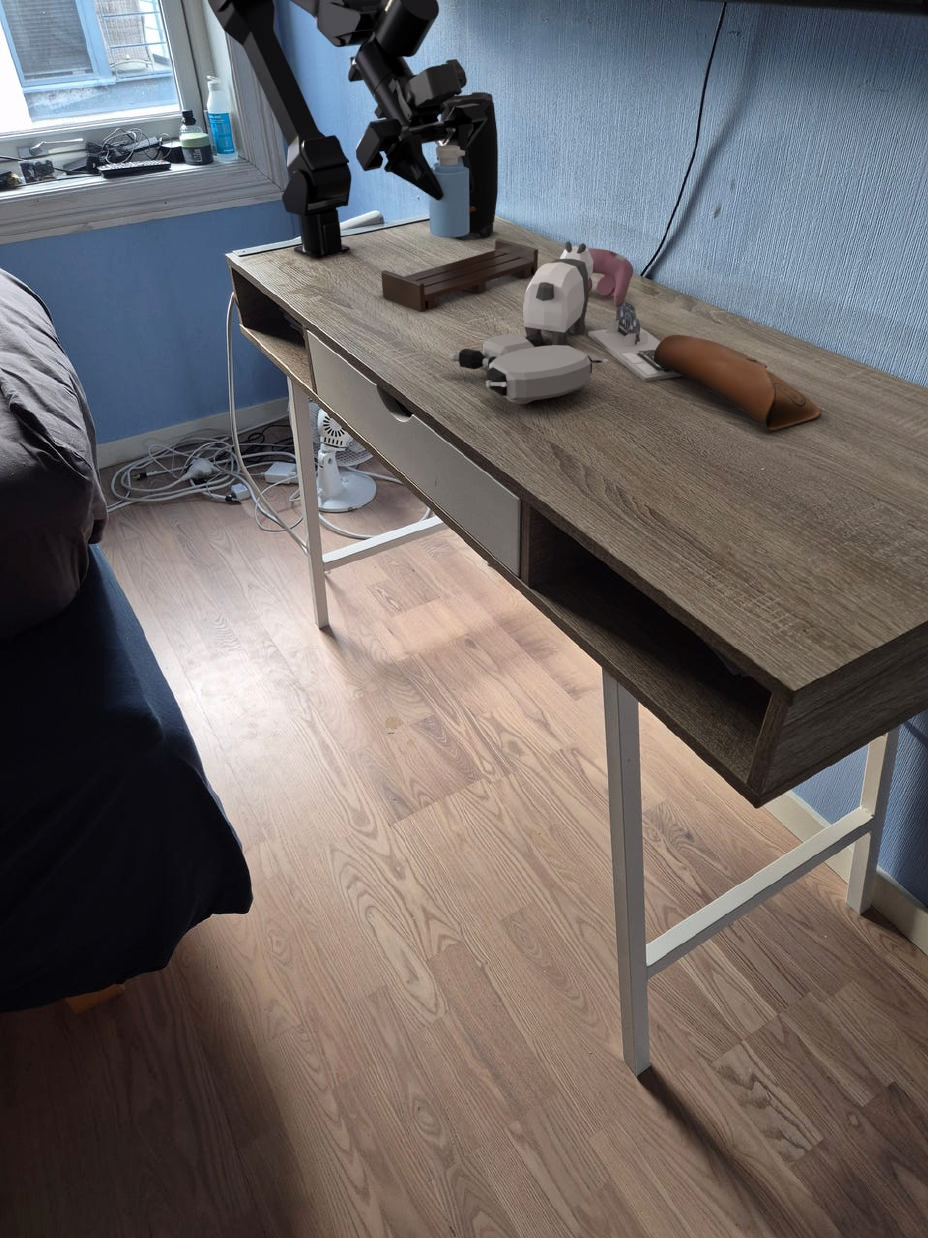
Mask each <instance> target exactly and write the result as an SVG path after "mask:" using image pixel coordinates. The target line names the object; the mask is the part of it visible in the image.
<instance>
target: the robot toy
mask: <svg viewBox="0 0 928 1238" xmlns="http://www.w3.org/2000/svg"><path fill="white" fill-rule="evenodd" d="M482 342H483V345H482V350H483V351H482V352H481V350H476V349H471V348H464V349H461V350H457V351H455V352H453V353H450V354H449V356H448V358H449V360H450V362H454V363H456V362H458V364H459V367H460V368H465V369H470V370H477V369H480V368H482V367H483V368H484V369H485V370H486V380H485V386H486V388H489V389H490V390H492V391H493V392H495V393H496V394H498V395H499V396H502V397H504V398H506V399H507V400H508V401H509V402H511V403H513V404H515V405H527V404H529V403H531V402H533V401H537V400H538V401H539V400H545V399H550V398H557V397H561V396H565V395H567V394H570V393H573V392H576V391H579V390H581V389H582V388H584V387H585V386H586V385H587V384H588V383H589V382H590V381H591V374H593V364H603V365H604V364H605V365H606V364H609V359H608V358H603V359H592V358H591V357H590V355H588V354H587V353H585V352H583V351H581V350H579V349H576V348H574V347H572V346H570V345H568V346H561V345H552V344H551V345H542V344H543V343H542V344H541V340H540V337H539V336H537V335H529V336H527V335H526V336H525V337H524V336H523V335H522V334H520V333H504V334H499V335H496V336H495V335H494V336H492V337H490V338H486V339H483V340H482Z"/></svg>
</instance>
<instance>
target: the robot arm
mask: <svg viewBox="0 0 928 1238" xmlns="http://www.w3.org/2000/svg"><path fill="white" fill-rule="evenodd" d="M289 1H290V2H291V3H293V4H294V5H296V6H297V7H299V8H300V9H302V10H304V11H305V12H306V13H308V14H309V15H310V16H312V18H313V19H314V20H315V25H316V29H317V30H318V32H320V33H321V34H322V36H324V37H325V38H326V39H327V40H328V42H329V43H330V44H331V45H332V46H334V47H336V48H344V47H354V46H355V47H356V46H359V48H358V50H357V52H356V54H355V55H354V56H350V57H349V68H348V70H347V79H348V82H349V83H355V82H361V81H363V82H364V84H365V86H366V87H367V89H368V91H369V92H370V94H371V96H372V98H373V99H374V101H375V103H376V104H377V106H376V108H375V109H374V112H373V113H374V115H375V116H376V118H377V120H372V121H369V123H368V125H367V127H366V129H365V130H364V132H363V134H362V135H361V137H360V139H359V141H358V143H357V145H356V147H355V159H356V160H357V162H358V164H359V165H360V167H361V169H362V170H363V171H364V172H369V171H374V170H378V169H381V168H382V166H383V163H384V162H383V161H384V156H383V155H382V154H381V152H383V153H384V154H385V158H386V160H387V162H386V164H385V165H384V167H383V170H384V171H385V172H386V173H392V174H394V175H395V176H397V177H399V178H401V179H403V180H404V181H406V182H408V183H409V184H411V185H413V186H414V187H416V188H418V189H419V190H421V192H424V193H425V194H426V195H428V196H429V195H430V196H431V197H433V198H434V199H436V200H437V201H439V200H441V199H442V198H443V196H444V194H443V192H442V189H441V187H440V185H439V183H438V181H437V179H436V177H435V175H434V173H433V171H432V170H431V168H432V167H431V166H430V163H429V162H428V160H427V159H426V157H425V155H424V152H423V145H425V144H430V143H435V145H437V147H438V146H443V145H454V146H459V147H460V150H463V151H465V155H463V156H460V157H458V162H461V163H463V167H466V168H468V169H469V193H470V192H472V190H473V189H474V183H473V178H472V173H471V168H470V163H469V158H468V150H467V147H468V146H469V145H470V143H471V142H472V140H473V139H474V138H475V136H476V135H477V133H478V132H479V131H480V129H481V128H482V126H483V125H484V124H485V122H486V121H487V117H486V115H485V113H484V111H483V110H482V108H481V106H480V104H473V103H472V104H467V105H461V106H456V107H454V108H453V110H452V111H451V113H450V114H449V116H448V117H447V119H446V120H445V121H440V120H439V116H441V114H442V113H443V112H444V110H445V108H446V106H445V105H444V103H443V102H445V101H447V100H448V99H450V98H451V97H453V96H459V95H462V93H463V90H462V89H463V88H465V87H466V86H467V82H468V79H467V75H466V71H465V69H464V67H463V66H462V64H461V63H460V61H458V59H457V58H453V59H447V60H446V61H445V63H442V64H440V65H432V66H429V67H426V68H425V69H424V70H422V71H421V72H419V73H418V74H414V73H413V71H412V69H411V68H410V66H409V64H408V62H407V61H406V59H405V58H412V57H414V56H416V54H417V53H418V51H419V49H420V48H421V46H422V45H423V43H424V41H425V39H426V37H427V35H428V34H429V32H430V30H431V29H432V27H433V25H434V23H435V21H436V20H437V18H438V16H439V14H440V7H439V2H438V0H289ZM207 3H208V5H209V7H210V9H211V11H212V13H213V14H214V17H215V18H216V20H217V21H218V23H219V25H220V26H221V29H222V30H223V31H224V32H225V33H226V34H227V35H229V36H230V37H231V38H232V39H233V40H234V41H236V42H237V43H238V44H239V45H240V46H242V48H243V50H244V52H245V55H246V57H247V58H248V60H249V63H250V65H251V67H252V69H253V72H254V74H255V76H256V78H257V80H258V82H259V85H260V87H261V89H262V91H263V94H264V96H265V98H266V100H267V102H268V105H269V107H270V109H271V111H272V113H273V115H274V117H275V120H276V122H277V124H278V126H279V129H280V131H281V133H282V135H283V138H284V140H285V142H286V144H287V147H288V148H287V161H286V162H287V163H286V170H287V172H288V175H289V178H290V179H289V181H288V183H287V185H286V187H285V189H284V191H283V193H282V195H281V200H282V203H283V206H284V209H285V211H286V213H290V214H294V215H297V219H298V225H299V233H300V241H301V245H299V246H295V247H293V251H294V252H296V253H299V254H301V255H304V256H307V257H310V258H313V259H316V260H318V259H322V258H327V257H330V256H334V255H338V254H339V255H340V254H342V253H346V252H349V251H351V247H350V246H348V245H346V244H345V245H344V244H343V241H342V232H341V223H340V219H339V218H340V217H339V210H338V208H342V207H348V206H349V202H350V201H349V200H350V193H351V187H352V173H351V169H350V166H349V163H350V160H349V159H348V157H347V156H346V154H345V152H344V150H343V148H342V145H341V141H340V139H339V138H338V137H337V136H336V134H333V135H325V134H324V133H322V132H321V131H320V130H319V128H318V126H317V123H316V121H315V119H314V116H313V115H312V112H311V110H310V108H309V106H308V104H307V101H306V99H305V97H304V94H303V92H302V90H301V88H300V85H299V83H298V81H297V79H296V77H295V75H294V74H295V73H294V72H293V70H292V67H291V65H290V63H289V61H288V58H287V56H286V55H285V54H286V53H285V52H284V50H283V47H282V45H281V43H280V41H279V39H278V36H277V34H276V32H275V19H276V18H275V16H276V5H275V2H274V0H207ZM436 160H437V162H439V158H438V157H436Z"/></svg>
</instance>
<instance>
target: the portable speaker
mask: <svg viewBox="0 0 928 1238" xmlns="http://www.w3.org/2000/svg"><path fill="white" fill-rule="evenodd" d="M443 103H444V105H445V106H446V108H445V110H444V112H443V113H442V114H440V120H439V121H445V120H446V119H447V117H448V116H449V114H450V113H451V111H452V110H453V108H454V107H456V106H461V105H467V104H472V103H473V104H480V106H481V108H482V110H483V111H484V113H485V115H486V117H487V121H486V122H485V124H484V125H483V126H482V128H481V129H480V131H479V132H478V133H477V135H476V136H475V138H474V139H473V140H472V142H471V143H470V145H469V146H468V147H467V150H468V158H469V163H470V168H471V173H472V178H473V183H474V189H473V190H472V192H470V193H469V233H468V234H467V235H470V234H477V236H479V238H485V237H490V236H491V235H492V234H493V232H494V223H495V219H496V211H497V201H498V194H499V183H498V182H499V146H498V144H499V143H498V127H497V120H496V110H495V102H494V99H493V95H492V93H489V92H486V91H473V92H472V93H470V94H459V95H455V96H453V97H451V98H450V99H448V100H447V101H445V102H443ZM453 238H455V239H462V236H460V237H453Z"/></svg>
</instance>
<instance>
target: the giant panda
mask: <svg viewBox="0 0 928 1238" xmlns="http://www.w3.org/2000/svg"><path fill="white" fill-rule="evenodd" d="M588 249H589V248H587V245H586V244H585V243H584V242H582V243H579V246H572V243H571V242H570V241H567V242H565V243H564V250H563V252H562V253H561V255H560V257H559V258H555V259H554V260H552V261H549V262H547V263H544V264H542V265H541V266H539V268H537V271H536V273H535V275H533V276H532V279H530V282H529V283H528V285H527V287H526V290H525V293H524V299H523V305H522V319H523V326H524V330H525V332H526V336H529V335H537V336H539V337H540V340H541V344H543V342H544V337H543V334H542V330H543V331H550V333H551V336H552V344H551V345H561V346H569V341H568V333H569V334H573V335H579V334H581V333H583V332H584V331H585V330H586V315H587V310H588V309H587V308H588V303H589V298H590V292H589V285H588V279H589V278H591V277H592V274H594V273H593V259H592V257H591V255H590V252H589V250H588Z"/></svg>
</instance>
